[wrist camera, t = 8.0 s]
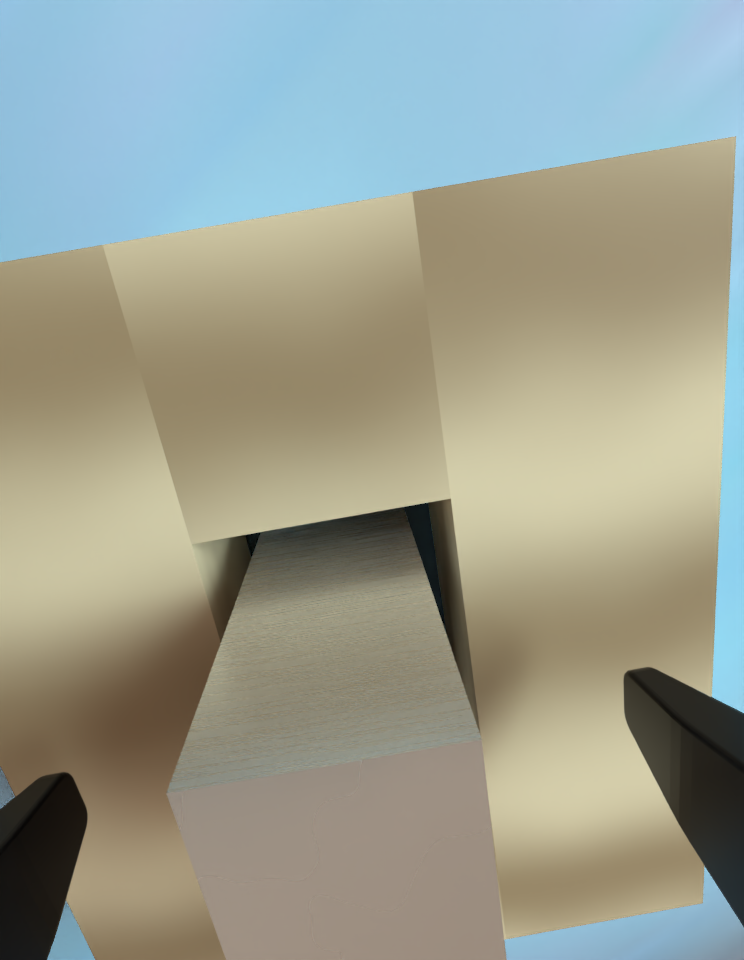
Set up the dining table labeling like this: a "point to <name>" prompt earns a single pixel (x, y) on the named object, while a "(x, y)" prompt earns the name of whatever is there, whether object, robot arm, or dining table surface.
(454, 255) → the well block
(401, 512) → the tall grey box
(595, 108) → the dining table surface
